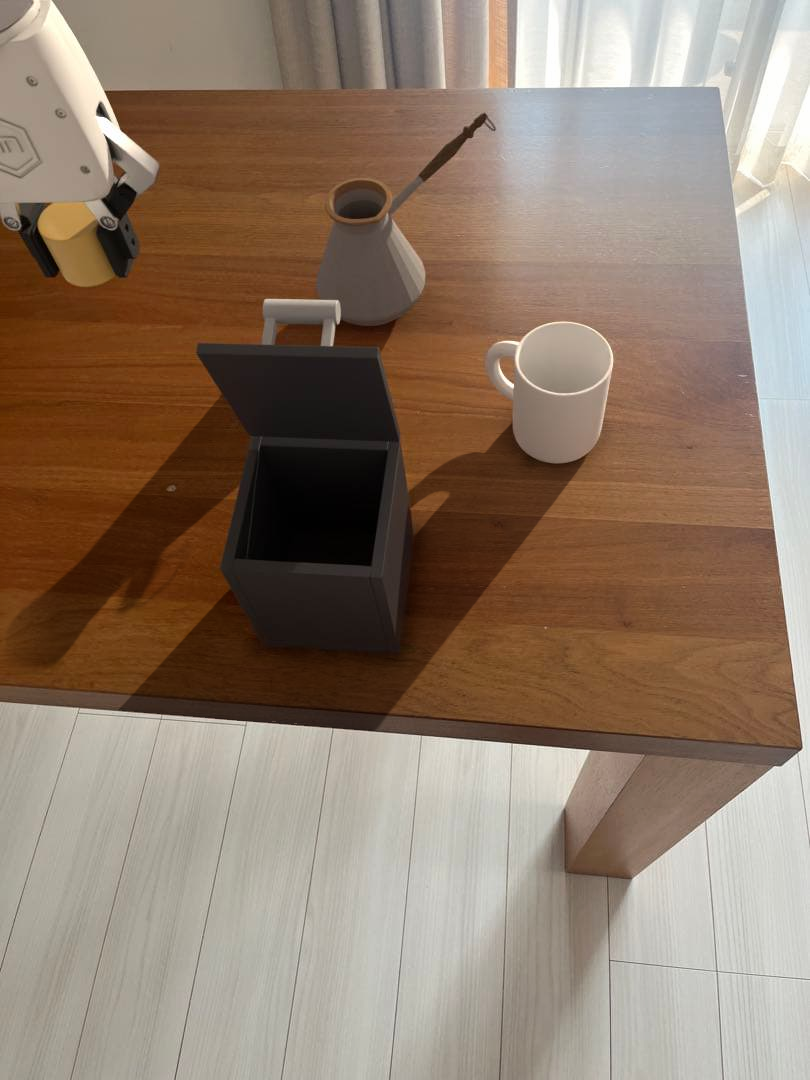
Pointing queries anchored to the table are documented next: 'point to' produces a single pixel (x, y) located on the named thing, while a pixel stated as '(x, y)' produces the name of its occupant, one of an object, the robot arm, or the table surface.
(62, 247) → the cylinder
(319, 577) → the dark grey storage bin
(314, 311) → the chamber lid
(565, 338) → the mug
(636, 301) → the table surface
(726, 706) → the table surface
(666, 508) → the table surface
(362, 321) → the coffee pot
